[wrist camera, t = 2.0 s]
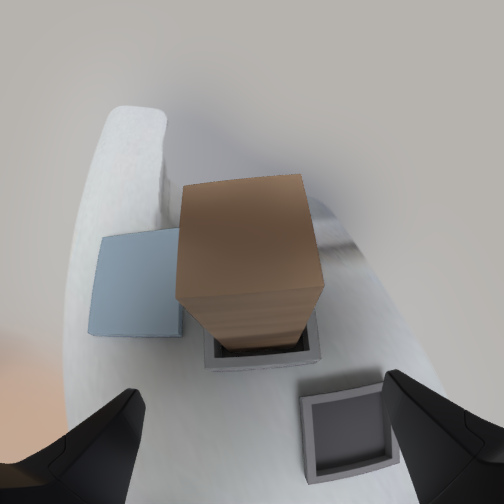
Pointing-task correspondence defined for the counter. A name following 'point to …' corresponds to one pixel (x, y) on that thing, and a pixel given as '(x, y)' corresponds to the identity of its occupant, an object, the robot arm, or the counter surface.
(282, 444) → the counter surface
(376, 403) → the tray
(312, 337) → the sleeve
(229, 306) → the walnut block
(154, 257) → the pad
